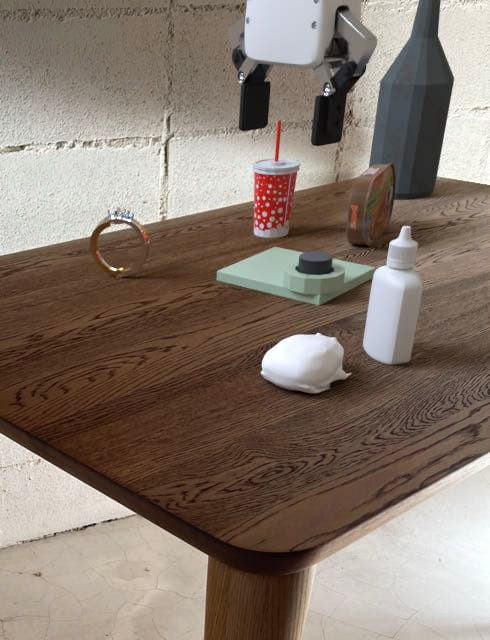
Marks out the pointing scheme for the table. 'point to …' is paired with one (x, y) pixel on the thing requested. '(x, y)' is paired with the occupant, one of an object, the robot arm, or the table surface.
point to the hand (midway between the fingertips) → (287, 136)
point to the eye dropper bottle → (394, 304)
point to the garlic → (304, 363)
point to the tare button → (315, 263)
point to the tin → (371, 204)
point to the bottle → (414, 108)
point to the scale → (294, 276)
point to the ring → (119, 218)
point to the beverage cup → (274, 193)
